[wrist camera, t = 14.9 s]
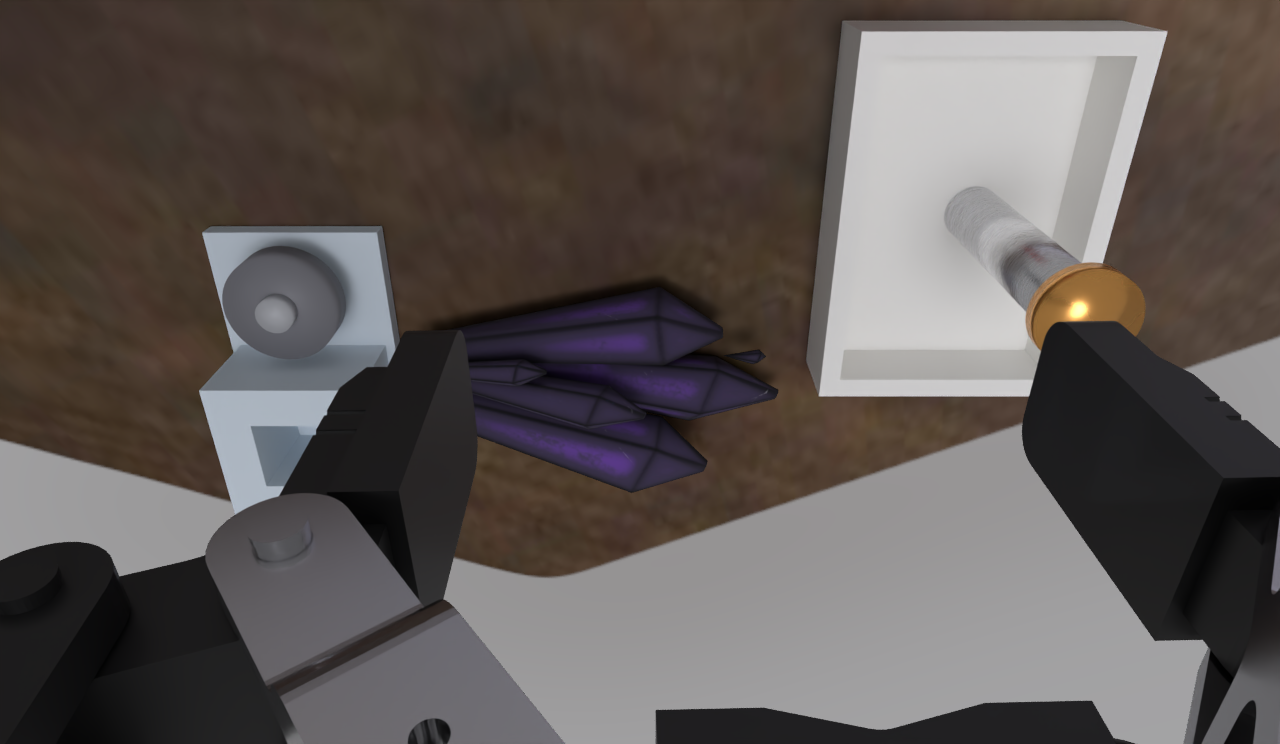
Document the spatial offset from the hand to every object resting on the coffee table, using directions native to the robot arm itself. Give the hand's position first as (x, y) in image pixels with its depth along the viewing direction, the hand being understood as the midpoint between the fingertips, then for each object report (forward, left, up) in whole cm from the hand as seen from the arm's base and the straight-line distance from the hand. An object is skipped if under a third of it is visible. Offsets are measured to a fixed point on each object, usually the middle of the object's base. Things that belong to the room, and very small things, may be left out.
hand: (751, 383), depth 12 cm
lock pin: (+8, +15, -32) cm, 36 cm away
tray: (+8, +14, -32) cm, 36 cm away
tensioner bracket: (+16, -20, -32) cm, 41 cm away
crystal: (+17, -4, -33) cm, 37 cm away
